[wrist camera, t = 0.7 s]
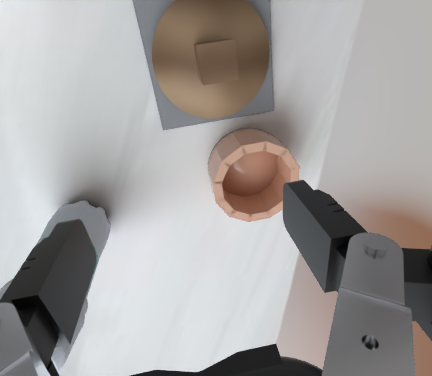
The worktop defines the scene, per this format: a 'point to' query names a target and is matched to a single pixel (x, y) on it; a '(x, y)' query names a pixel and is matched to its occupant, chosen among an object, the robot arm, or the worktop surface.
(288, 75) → the worktop surface
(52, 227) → the bottle
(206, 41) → the lid
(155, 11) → the felt pad
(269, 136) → the bowl
